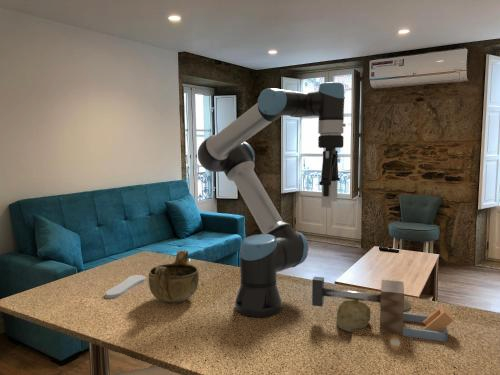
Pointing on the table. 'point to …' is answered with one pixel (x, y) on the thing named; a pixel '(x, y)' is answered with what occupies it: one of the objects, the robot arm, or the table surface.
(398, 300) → the block
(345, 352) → the table surface
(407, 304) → the sea urchin shell
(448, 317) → the spacer
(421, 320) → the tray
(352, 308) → the decorative item
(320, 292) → the shaft
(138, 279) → the long curved white strip
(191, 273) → the ceramic bowl
